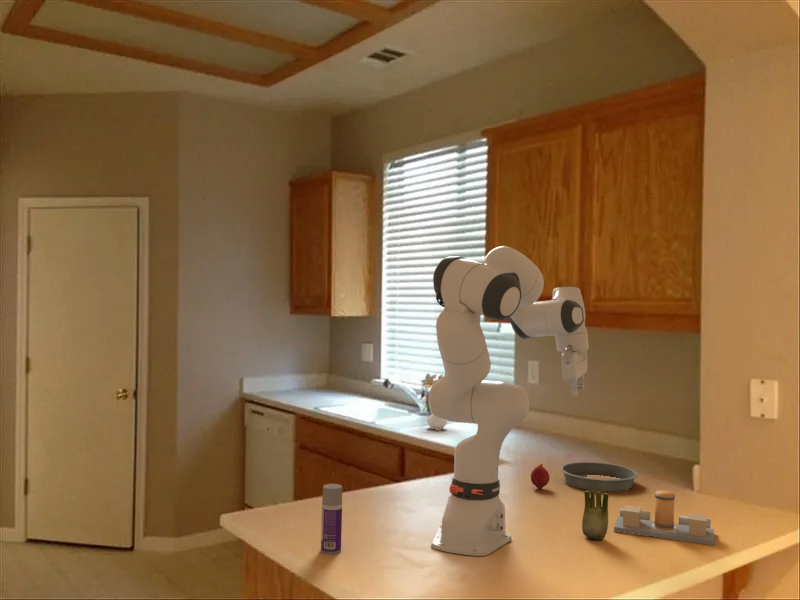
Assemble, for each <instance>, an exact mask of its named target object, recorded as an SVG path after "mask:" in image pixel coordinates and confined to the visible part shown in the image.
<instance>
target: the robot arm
mask: <svg viewBox="0 0 800 600" xmlns="http://www.w3.org/2000/svg"><path fill="white" fill-rule="evenodd" d="M432 281H433V282H432V283H433V288H434V289H433V290H434V292H435V300H436V302H437V304H438V305H439V306H441V307H443V308H444V309H443V310H441V312H440V313H439V315H438V316H437V318H436V324H435V328H436V329H435V330H436V331H435V332H436V341H437V345H438V350H439V353H440V357H441V361H442V365H443V370H444V375H443V378H442V379H440V380H438V379H437V380H438V381H436V382H435V383H434V384H433V386H431V387H430V388H429V389H430V390H429V392H428V394H427V395H428V397H427V399H428V401H427V402H428V406H429V410H430V412H431V414H432V413H433V414H434V416H436V417H439V418H442V419H445V420H447V421H448V422H456V423H465V424H475V425H477V429H476V430H477V431H476V434H474V435H470V436H468V437H467V438H465V439H462V440H461V441H459V442H458V443H457V444H456V446H455V449H454V457H453V458H454V463H453V464H454V466H453V476H452V479H451V484H450V486H449V494H450V495H449V496H448V499H447V502H446V506H445V509H444V512H443V516H442V519H441V524H439V525H438V528H437V530H436V532H435V534H434V535H433V539H432V541H431V548H433V549H435V550H439V551H443V552H447V553H451V554H455V555H456V554H458V555H464V556H477V557H479V556H480V557H481V556H482V557H483V556H485V557H486V556H488V555H490V554H491V553H494V551H496V550H498V549H499V548H501V547H502V546H504V545H506V544H507V543H509V542H510V541H512V535H511V534H510V533H508V532H506V531H507V530H506V529H507V528H506V505H505V503H503V501H502V499H500V496H499V495H500V489H501V483H500V482H501V481H500V479H499V463H500V455H501V453H500V452H501V449H502V447H503V443H504V441H505V439H506V437H507V436H508V435H509V434H510V432H511V431H512V430H514V429H515V428H516V427H518V425H519V426H520V424H521V423H522V422H524V421H525V419H526V418H527V416H528V413H529V411H530V399H529V396H528V394H527V392H526V390H525V389H524V387H523V386H520V385H517V384H514V383H510V382H506V381H497V380H486V378H487V377H488V376H489V374H490V371H491V367H492V366H491V365H492V363H491V359H490V354H489V349H488V346H487V342H486V338H485V334H484V331H483V329H482V326H481V317H482V316H483V317H485V318H487V319H490V320H493V321H505V320H508V322H510V323H509V324H510V325H511V328H512V330H513V332H514V333H515V334H516V335H517V336H518V337H519V338H521V339H523V340H525V339H532V338H537V337H552V336H555V338H554V339H555V344H556V351H557V352H558V353H559V352H561V359H560V362H561V374H562V379H563V381H564V382H568V386H569V389H570V390H569V391H570V396H572V397H577V396H578V395H579V392H582V391H584V389H585V385H584V381H585V380H584V379H585V374H586V373H587V372H588V367H589V365H588V363H589V362H588V360H589V359H588V349H590V345H589V335H588V329H587V327H586V308H585V304H584V299H583V296H582V292H581V289H580V288H579V287H577V286H573V285H571V286H568V285H565V286H558V287H555V288H553V290H552V295H551V296H552V297H551V298H552V299H550V300H542V301H538V300H539V298H540V297H541V295H542V294H543V290H544V286H545V280H544V276H543V273H542V271H541V269H539V267H538V266H537V265H536V264H535V263H534V262H532V260H531V259H529V258H528V256H526V255H525V254H523V253H522V252H520V251H518V250H517V249H515V248H513V247H510V246H505V245H502V246H497V247H495V248H493V249H491V250H490V251H489V252H488V253H487V255H485V258H484V260H483V263H482V262H480V261H479V262H478V261H475V260H470V259H467V258H465V257H463V256H456V255H452V256H450V255H449V256H447V257H445V258H443V259H442V260H441V261H440V262H439V263H438V265H437V266H436V268H435V269H434V272H433V278H432Z"/></svg>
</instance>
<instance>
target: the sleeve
mask: <svg viewBox="0 0 800 600" xmlns="http://www.w3.org/2000/svg"><path fill="white" fill-rule="evenodd" d="M654 497H655V498H654V499H655V500H654V501H655V503H654V504H655V506H654V524H655V527H656V528H658V529H661V530H673V529H674V524H675V499H676V496H675V493H674V492H673V491H670V490H663V489H661V490H659V489H658V490H656V491H655V494H654Z"/></svg>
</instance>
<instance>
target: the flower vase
mask: <svg viewBox="0 0 800 600" xmlns="http://www.w3.org/2000/svg"><path fill="white" fill-rule="evenodd" d="M443 377H444V375H443V374H440V375H439V376H438V377H437V374H434V375H431V374H430V373H426V375H425V377H424V379H422V380H421V387H423V388H424V387H425V391H428V390H429V389H431V387H432V386H433V384H434V383H435V382H436V381H438V380H440V379H442V378H443ZM436 378H437V379H436ZM426 422H427V423H426V424H427V425H428V426H429V427H430V428H431V429H430V428H429V429H430V430H432V429H435V430H434V431H442V430H441V429H443V430H444V428H445V427H446V426H447V425H448V420H445V419H442V418H439V417H436V416H434V414H433V413H432V412H431V415H430V416H428V417H427V420H426Z"/></svg>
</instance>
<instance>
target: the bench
mask: <svg viewBox="0 0 800 600" xmlns="http://www.w3.org/2000/svg"><path fill="white" fill-rule="evenodd" d="M654 521H655V520H654ZM654 521H652V520H651V511H645V510H642V507H641V506H638V505H637V506H636V505H631V504H629V505H628V504H625V505H624V508H623V507H620V508H619V516H617V518H616V521H615V524H614V526H613V532H614V531H619V532H618V533H620V532H625V533H624V534H628V533H633V534H632V535H635V534H640V535H639V536H642V535H646V536H645V537H649V536H653V537H652V538H656V537H659V538H658V539H664V538H665V540H671V539H672V540H673V541H677V542H678V541H680V542H685V543H686V542H687V543H695V544H701V545H708V546H715V545H716V540H715V539H716V538H715V529H714V528H711V521H712V520H711V519H708V518H707V514H702V513H695V512H689V515H688V516H685V515H678V524H676V523H674V529H673V530H661V529H658V528H656V527H655V524H654Z"/></svg>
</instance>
